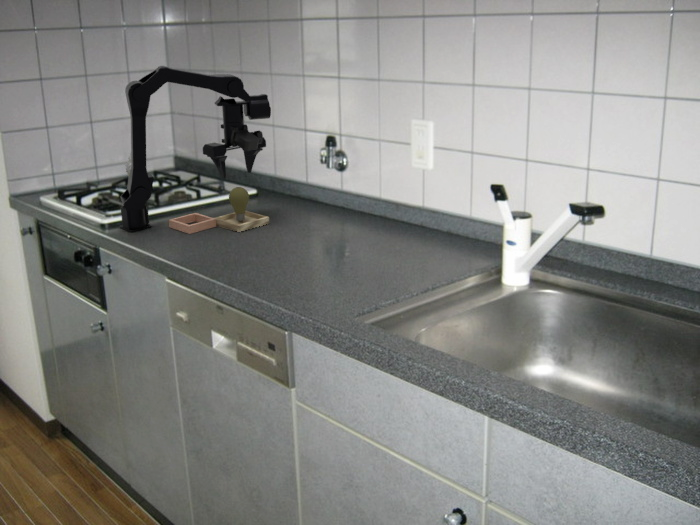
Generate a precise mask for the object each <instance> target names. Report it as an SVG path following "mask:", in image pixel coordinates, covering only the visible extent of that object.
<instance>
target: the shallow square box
mask: <svg viewBox="0 0 700 525" xmlns="http://www.w3.org/2000/svg"><path fill="white" fill-rule="evenodd" d="M215 218H216V217H212V216H211V217H210V216H209V215H208V216H207V215H204V214H201V213H198V212H194V213H190V214H186V215H182V216H179V217H175V218H171V219H168V225H169V228H170V229H173V230H176V231H180V232H183V233H185V234H188V235H191V234H194V233H197V232H202V231H205V230H208V229H211V228H215V227H217V226H216V219H215ZM195 222H196V223H195ZM190 223H192V224H190Z"/></svg>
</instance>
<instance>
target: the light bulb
mask: <svg viewBox="0 0 700 525" xmlns="http://www.w3.org/2000/svg"><path fill="white" fill-rule="evenodd" d="M228 201H229V202H230V205H231V206H232V209H233V211H234V212H235V213H236V220H237V221H239V222H243V221H244V220H245V211H247V205H248V204H249V201H250V194H249V192H248V191H247V189H246V188H244V187H241V186H236V187H234V188H232V189H231V190H230V192H229V194H228ZM234 212H233V213H234Z"/></svg>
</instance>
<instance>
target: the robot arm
mask: <svg viewBox="0 0 700 525" xmlns="http://www.w3.org/2000/svg"><path fill="white" fill-rule="evenodd" d="M167 83H170V84H171V83H172V84H177V85H183V86H189V87H194V88H200V89H207V90H211V91H213V92H216V93H217V94H221V95H224V96H227V97H229V98H224V97H222V96H220V95H219V97H218V99H217V100H216V101H215V102H214V105H215V106H216V107H222V108H221V109H222V110H221V111H222V122H223V124H220V129H223V137H224V138H221V143H218V142H210V143H205V144H204V145H203V146H202V155H206V156H207V158H210V159H211V162H213V164H214V165H215V167H216V170H217V171H218V173H219V174H220V176H221V178H222V179H226V178H227V168H226V160H227V159H228V155H226V154H227V151H232V150H237V149H241V150H242V151H243V156H244V163H245V167H246V171H247V173H249V174H251V173H252V171H253V167H254V163H255V160H256V158H257V156H258V154H259V153H260V152H261V151H263V150H264V148H266V147H267V140H266V139H265V137H264V136H263V132H262V131H261V130H260V129H259V130H254V131H251V132H250V131H249V129H248V128H249V127H248V125H247V124H245V120H244V118H245V117H247V118H248V120H250V121H251V120H252V121H253V120H266V119H271V115H272V108H271V106H270V105H271V104H270V101H269V99H268V96H269V95H268V94H266V93H261V94H257V95H256V94H254V95H250V94H249V93H248V92H247V91H246V90H245V88H244V82H243V80H242V78H240V77H239V76H235V75H233V74H230V73H229V74H228V73H227V74H225V73H221V74H220V73H219V74H216V73H215V74H206V73H200V72H196V71H191V70H190V71H189V70H185V69H178V68H172V67H168V66H165V65H159V66H158V67H156V69H154V70H153V71H151V72H149V73H148V74H146V75H144V76H142V78H140V79H139V80H131V81H130V82H129V83H128V84H126V87H125V97H126V102H127V107H128V110H129V114H130V153H131V165H132V166H131V170H130V174H129V176H128V179H127V186H126V187H127V188H126V189H125V191H124V192H123V193H122V194H121V195H120V196H119V197H120V200H121V203H122V204H123V205H122V206H120V213H121V214H120V215H121V222H122V223H121V224H120V225H119V229H122V230H126V231H128V232H131V233H133V232H137V231H140V230H145V229H149V228H152V224H150V217H149V216H150V215H149V209H148V208H147V204H146V203H147V202H148V201H149V199H151V197H152V193H154V192H155V190H154V187H153V184H154V176H153V174H152V173H151V172H148V170H147V169H148V168H147V122H146V121H147V115H148V111H149V107H150V100H151V96H152V95H153V94H155V93H156V92H157V91H158V90H160V89H161V88H162V87H163V86H164V85H165V84H167ZM235 98H237V99H240V100H241V101H236V99H235Z"/></svg>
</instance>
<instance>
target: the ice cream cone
mask: <svg viewBox="0 0 700 525" xmlns="http://www.w3.org/2000/svg"><path fill="white" fill-rule="evenodd" d="M127 159H128V161H127V162H126V164H125V170H126V171H125V172H126V173H127V176H128V177H129V174H130V170H131V166H132V165H131V152H130V155H129V156H128V158H127Z"/></svg>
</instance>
